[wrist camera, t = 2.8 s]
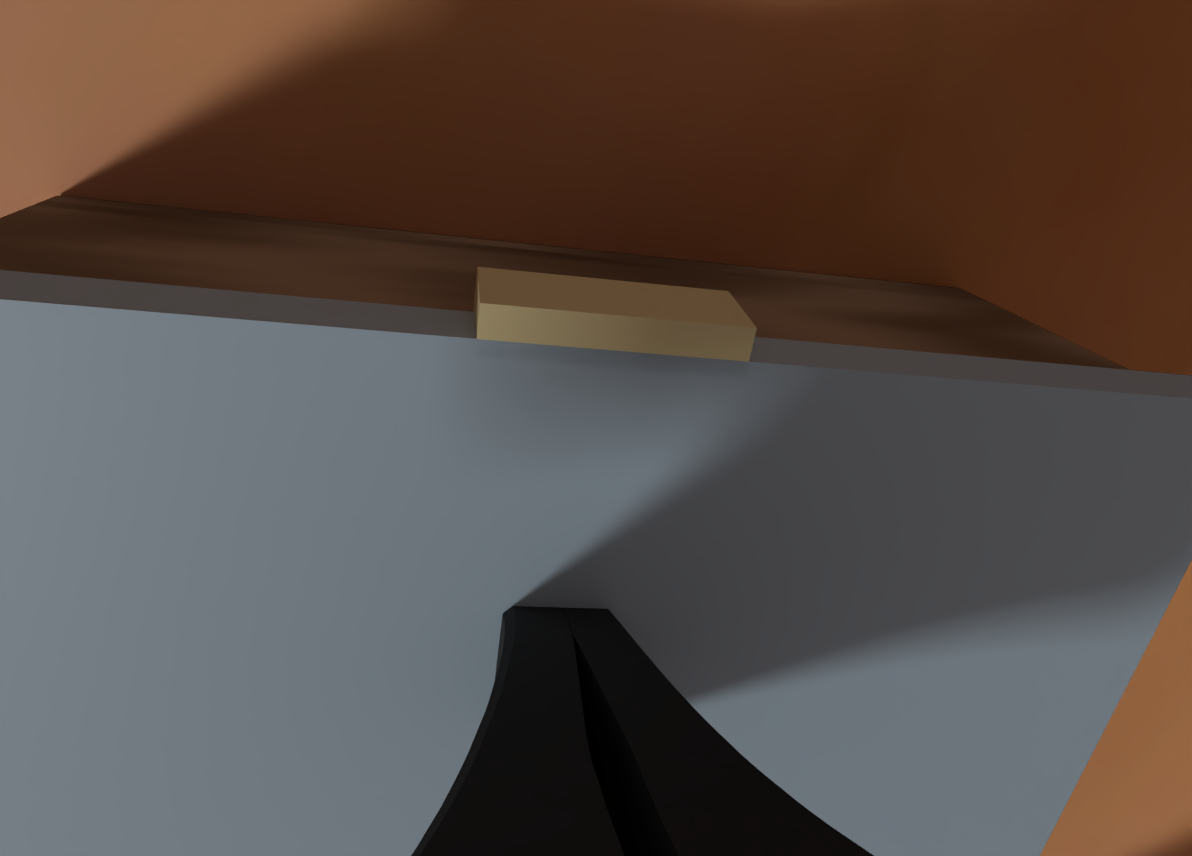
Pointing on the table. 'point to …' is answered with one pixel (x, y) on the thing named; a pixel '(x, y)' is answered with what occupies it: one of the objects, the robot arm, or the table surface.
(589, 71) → the table surface
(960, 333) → the box
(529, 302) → the lid
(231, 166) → the table surface
